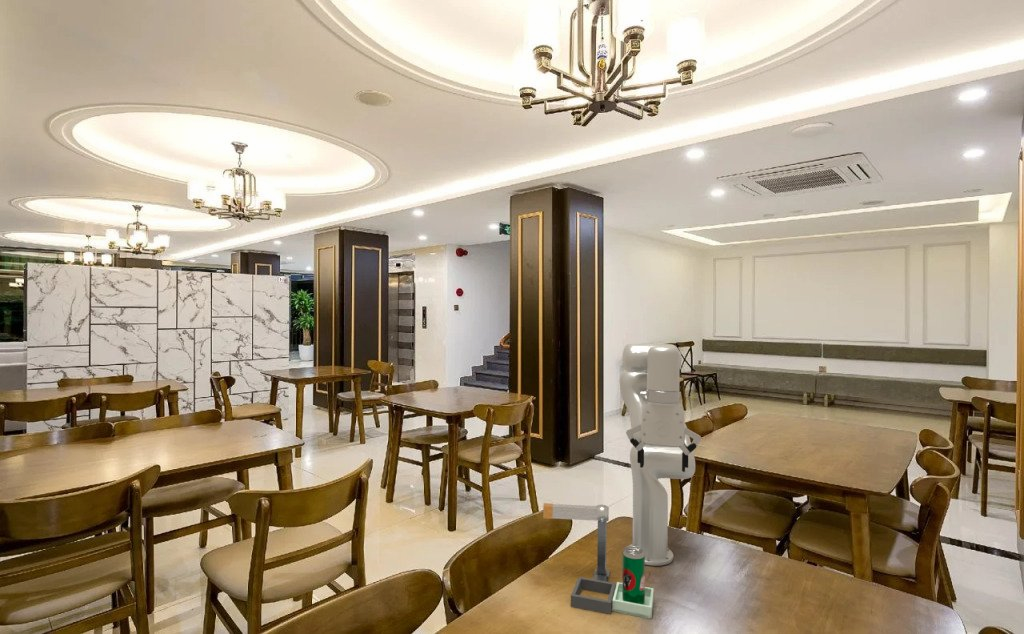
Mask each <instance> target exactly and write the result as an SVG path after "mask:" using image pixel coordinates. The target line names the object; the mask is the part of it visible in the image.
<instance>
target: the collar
mask: <svg viewBox="0 0 1024 634" xmlns="http://www.w3.org/2000/svg"><path fill="white" fill-rule="evenodd" d="M616 585H617V582H612V581H611V582H610V581H600V580H594V579H593V578H587V577H582V576H578V578H577V579H576V583H575V585H574V587H573V590H572V592H571V594H570V607H571V608H572V607H573V608H577V609H581V610H587V611H593V612H597V613H603V614H608V615H611V614H612V612H613V611H612V603H613V596H614V593H615V589H616ZM582 590H584V591H590V592H594V593H600V594H605V595H609V596H608V598H607V599H601V598H596V597H592V596H587V595H586V596H585V595H581V591H582Z"/></svg>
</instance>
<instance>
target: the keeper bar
mask: <svg viewBox="0 0 1024 634" xmlns="http://www.w3.org/2000/svg"><path fill="white" fill-rule="evenodd" d="M542 506H543V507H542V509H543V510H542V512H543V513H542V516H543V517H542V518H543V519H551V520H552V519H556V520H558V519H559V520H561V519H562V520H576V521H577V520H578V521H579V520H580V521H595V522H596V521H597V522H598V521H600V522H607V523H608V521H609V519H610V518H609V513H610V510H609V508H610V507H609V506H608V505H606V504H597V505H581V504H564V503H563V504H561V503H549V502H548V503H546V502H544V503H543V505H542Z"/></svg>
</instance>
